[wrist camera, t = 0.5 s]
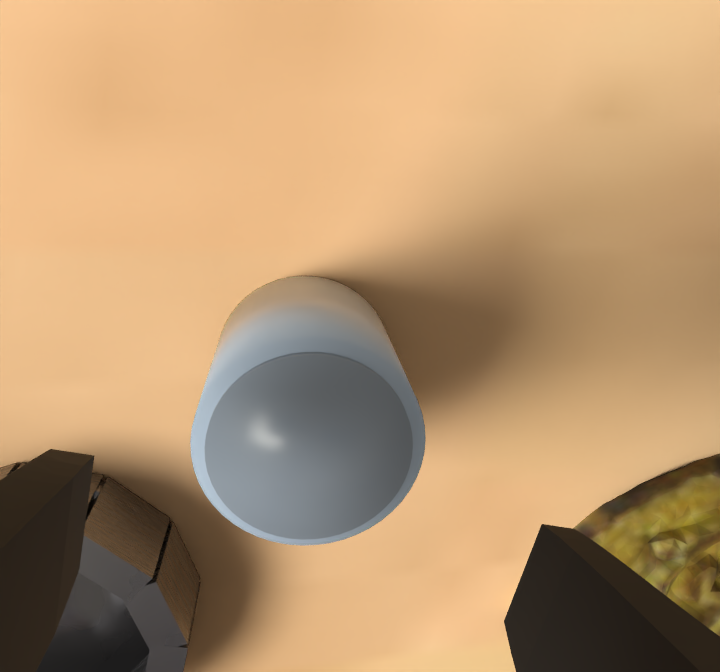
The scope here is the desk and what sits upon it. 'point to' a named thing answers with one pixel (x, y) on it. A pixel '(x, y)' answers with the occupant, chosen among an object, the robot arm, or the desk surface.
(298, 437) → the cap
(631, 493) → the olive stemmed piece
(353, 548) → the desk surface
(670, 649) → the robot arm
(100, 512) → the dark grey ring
